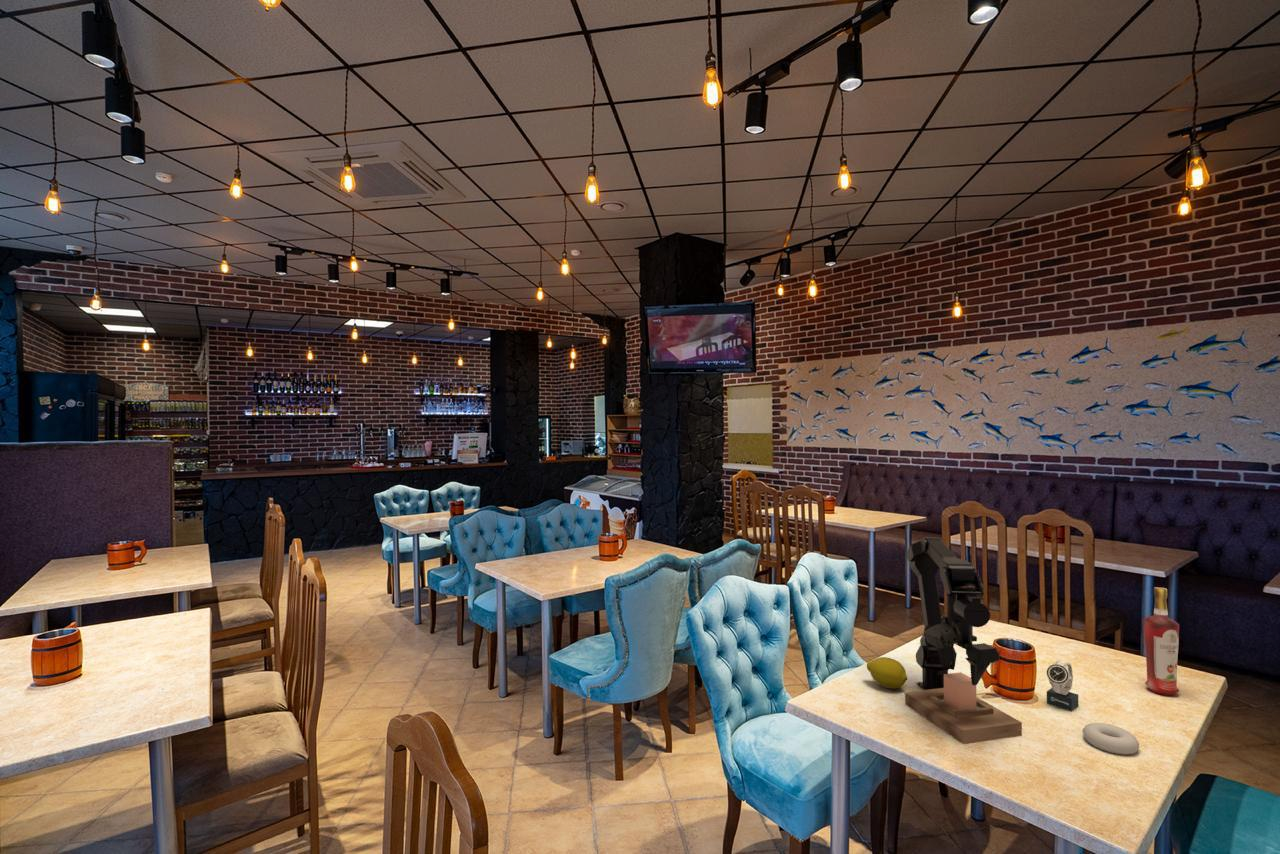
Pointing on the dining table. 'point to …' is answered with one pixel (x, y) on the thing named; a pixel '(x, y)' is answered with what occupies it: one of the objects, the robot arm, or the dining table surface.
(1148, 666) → the liquor
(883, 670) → the lemon
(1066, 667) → the watch
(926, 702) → the brown flat frame
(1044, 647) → the dining table surface
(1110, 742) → the donut
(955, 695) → the terracotta block
